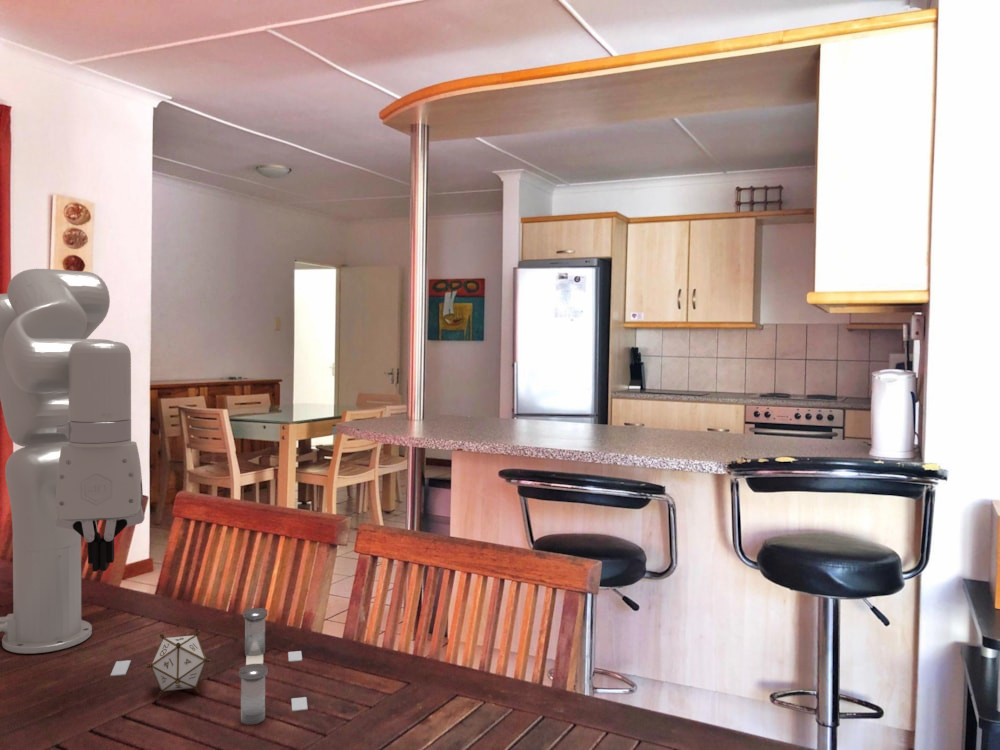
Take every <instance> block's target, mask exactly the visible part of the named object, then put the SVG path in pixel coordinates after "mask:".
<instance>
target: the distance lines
mask: <svg viewBox="0 0 1000 750" xmlns="http://www.w3.org/2000/svg"><path fill="white" fill-rule="evenodd" d="M302 653H303V652H302V650H299V651H298V650H296V651H288V652H287V655H288V656H287V657H288V662H290V663H291V662H303V655H302ZM245 656H246V655H245ZM245 658H246V659H245V666H246V665H249V664H263V665H264V655H263V654H262V655H259V656H246V657H245ZM131 662H132V660H131V659H130V660H128V659H127V660H119V661H118V660H117V661H115V664H114V666H113V668H112V671H111V673H110V677H116V676H119V677H120V676H126V674H127V672H128V670H129V668H130V664H131ZM290 701H291V712H299V711H305V710H306V711H308V709H309V708H308V699H307V697H306V696H303V697H293V698H291V699H290Z"/></svg>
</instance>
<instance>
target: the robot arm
mask: <svg viewBox="0 0 1000 750" xmlns="http://www.w3.org/2000/svg"><path fill="white" fill-rule="evenodd" d="M110 299H111V297H110V292H109V289H108V286H107V284H106V282H105V281H104V280H103V278H102V277H100V276H99V275H98V274H96V273H94V272H90V271H83V270H82V271H81V270H68V269H67V270H65V269H52V268H31V269H26V270H23V271H21V272H18V273H17V274H15V275H14V276H13V277H12V278H11V280H10V281H9V283H8V285H7V289H6V293H0V404H1V410H2V414H3V419H4V423H5V427H6V430H7V433H8V436H9V438H10V439H11V441H12V442H13V443H14V444H16V445H17V446H19V447H21V448H19V449H17V450H15V451H14V452H13V453H11V454H10V455H9V456H8V459H7V460H6V463H5V470H4V471H5V473H4V474H5V482H6V488H7V494H8V498H9V504H10V511H11V512H10V513H11V524H12V525H11V526H12V528H11V529H12V587H13V588H12V589H13V590H12V591H13V593H12V599H13V600H12V602H13V605H12V606H13V607H12V608H13V610H12V611H13V613H7V615H6V616H0V633H2V632H4V635H3V637H2V639H1V646H2V648H3V649H4V650H6V651H8V652H11V653H16V654H24V655H26V654H27V655H28V654H42V653H43V654H44V653H49V652H56V651H60V650H65V649H69V648H70V647H74V646H77V645H79V644H81V643H83V642H84V641H86V640H87V639H88V638H90V637H91V635H92V634H93V626H92V624H91V623H90V622H89V621H87V620H83V619H82V537H83V538H84V541H85V542H87V564H88V565H91V566H92V568H91V569H92V572H98V571H101V572H107V570H108V568H109V567H110V565H111V564H112V563H114V562H115V538H116V537H117V536H118V535H119V534H120V533H121V532H122V531H123V530H124V529H126V528H128V527H132V526H136V525H140V524H143V522H144V521H145V518H146V517H145V513H144V511H143V500H144V498H143V497H144V495H143V493H144V492H143V478H142V477H143V476H142V467H141V460H140V453H139V449H138V444H137V442H136V441H133V440H132V356H131V355H132V353H131V349H130V347H129V346H128V345H127V344H126V343H123V342H122V341H121V342H119V341H113V340H109V339H103V338H102V339H101V338H100V339H98V338H96V339H95V338H93V339H92V338H89V337H90V336H91V335H92V334H93V333H94V331H96V329H98V328H99V326H100V325H101V324H102V323H103V322H104V320H105V318H106V317H107V314H108V312H109V308H110V303H111V301H110ZM97 521H106V522H105V526H104V533H103V534H102V536H101V534H100V532H99V529H98V523H97Z"/></svg>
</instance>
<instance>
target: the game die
mask: <svg viewBox="0 0 1000 750" xmlns="http://www.w3.org/2000/svg"><path fill="white" fill-rule="evenodd" d="M200 634H201V629H197V630H196V632H195V634H189V635H187V634H186V635H179V636H178V635H177V636H166V637H165V635H164V633H162V632H159V637H160V639H161V641H160V644H159V646H158V648H157V649H156V653H155V654H154V657H153V659H152V661H151V662H150V663H147V664H146V665H144V668H146V669H151V670H152V674H153V675H154V678H155V680H156V683H157V684H158V686H159V689H160V691H158V693H157V698H160V697H161V696H162V695H163V692H171V691H179V690H188V689H194V691H195V692H196V693H200V689H199V687H198V684H199V681H200V678H201V676H202V674H203V671H204V669H205V666H206V664H207V663H209V662H211V661H212V660H213V658H211V657H207V656H206V653H205V651H204V649H203V647H202V643H201V641H200V639H199V637H198V636H199V635H200Z"/></svg>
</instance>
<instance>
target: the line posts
mask: <svg viewBox="0 0 1000 750" xmlns="http://www.w3.org/2000/svg"><path fill="white" fill-rule="evenodd" d="M267 616H268V610H267V609H266V608H262V607H254V608H248V609H246V610H243V612H242V617H243V619H244V655H245V656H259V655H262V654H263V656H264V655H265V653H266V617H267ZM268 669H269V667H268V666H267V665H266V664H264V663H263V664H249V665H246V664H245V665H243V666H241V667H240V668H239V669H238V677H239V678H240V722H241V723H242V724H244V725H249V724H250V725H257V724H259V723H262V722H263V721H264V720H265V718H266V676H267V675H268V672H269V671H268ZM250 725H249V726H250Z"/></svg>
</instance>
